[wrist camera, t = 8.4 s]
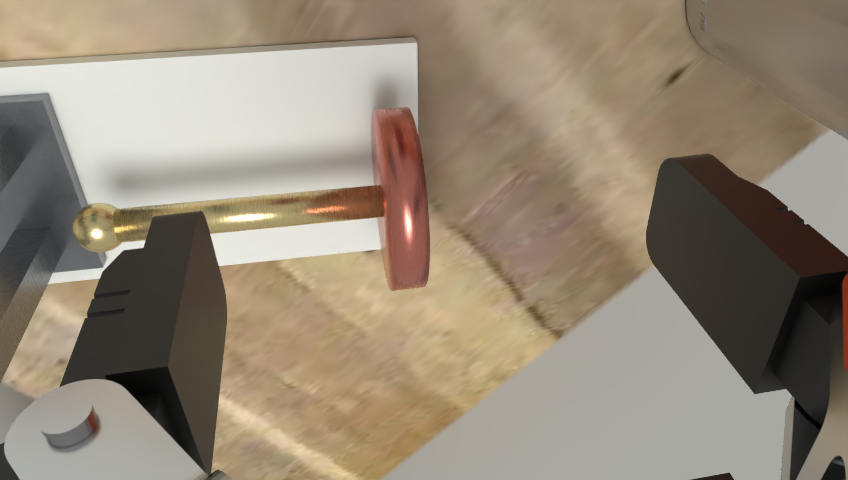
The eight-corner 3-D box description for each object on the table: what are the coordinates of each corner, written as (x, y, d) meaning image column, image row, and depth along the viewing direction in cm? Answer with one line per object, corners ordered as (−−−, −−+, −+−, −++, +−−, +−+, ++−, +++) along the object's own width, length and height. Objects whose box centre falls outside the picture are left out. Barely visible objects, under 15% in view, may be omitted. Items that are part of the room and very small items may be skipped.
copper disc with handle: (398, 79, 37) (429, 159, 29) (402, 224, 43) (429, 324, 35) (69, 101, 35) (4, 196, 27) (120, 252, 41) (79, 367, 33)
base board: (414, 37, 37) (417, 42, 37) (416, 236, 45) (419, 244, 45) (-79, 66, 34) (-88, 73, 33) (18, 277, 42) (13, 287, 41)
